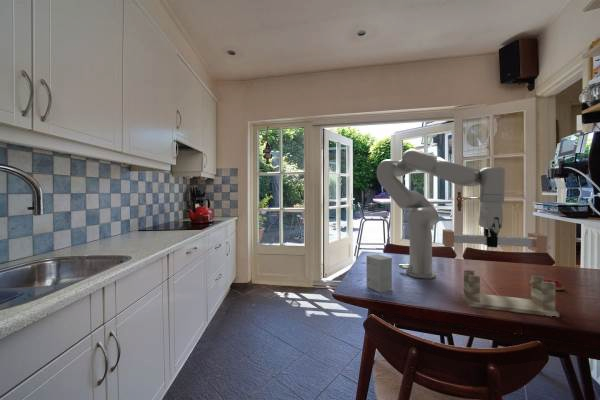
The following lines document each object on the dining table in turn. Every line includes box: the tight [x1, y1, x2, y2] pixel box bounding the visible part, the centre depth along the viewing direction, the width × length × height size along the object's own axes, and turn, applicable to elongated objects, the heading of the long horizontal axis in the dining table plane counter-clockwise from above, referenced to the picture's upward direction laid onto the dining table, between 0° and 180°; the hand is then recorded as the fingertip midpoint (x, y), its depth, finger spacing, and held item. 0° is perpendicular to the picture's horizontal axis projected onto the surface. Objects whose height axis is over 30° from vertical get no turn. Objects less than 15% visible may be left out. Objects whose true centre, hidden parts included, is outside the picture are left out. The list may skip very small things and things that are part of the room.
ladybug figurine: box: [529, 277, 565, 291], centre depth 101 cm, size 7×10×4 cm
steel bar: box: [442, 228, 548, 254], centre depth 97 cm, size 32×6×6 cm, turn 71°
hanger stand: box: [461, 269, 560, 318], centre depth 85 cm, size 24×10×10 cm, turn 71°
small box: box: [366, 253, 393, 294], centre depth 101 cm, size 8×6×13 cm
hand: (490, 245), depth 97 cm, fingers closed on steel bar, 3 cm apart
